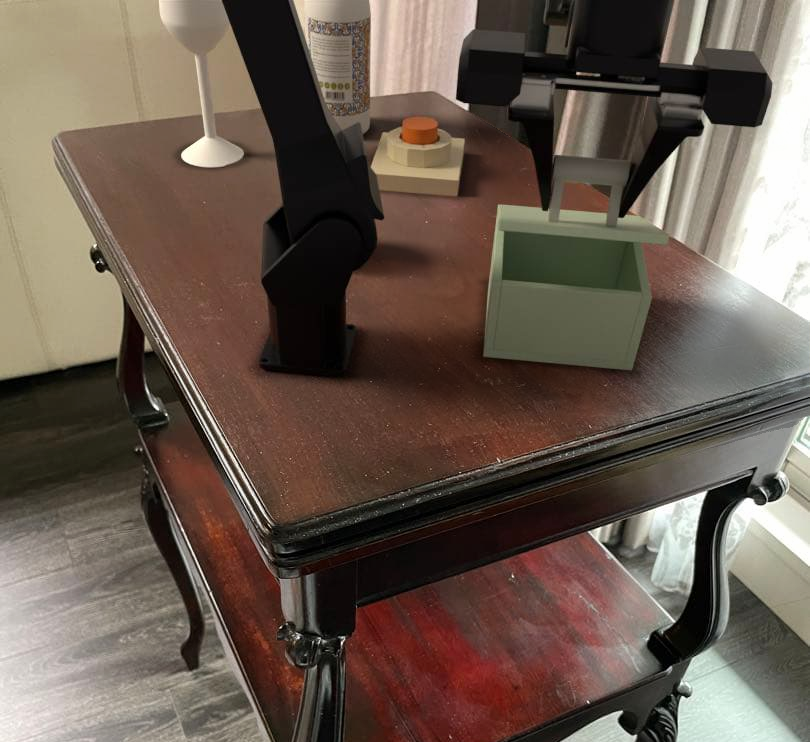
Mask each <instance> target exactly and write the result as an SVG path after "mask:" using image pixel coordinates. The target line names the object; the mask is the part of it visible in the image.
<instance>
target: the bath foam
mask: <svg viewBox="0 0 810 742" xmlns="http://www.w3.org/2000/svg"><path fill="white" fill-rule="evenodd" d="M303 20H304V21H303V22H304V36H305V39H306V42H307V45H308V49H309V52H310V55H311V58H312V61H313V65H314V68H315V71H316V74H317V77H318V81H319V84H320V87H321V90H322V93H323V96H324V100H325V102H326V104H327V106H328V108H329V110H330V112H331V114H332V115H333V117H334V118H335V120H336V122H337V123H338V125H339V127H340V128H341V130H344V129H346V128H348V127H350V126H352V125H354V124H355V123H357V122H359V123H361V128H362V134H363V135H364V134H366V133H367V132H368V130H369V129H370V125H371V52H372V51H371V49H372V48H371V44H372V43H371V40H372V39H371V38H372V35H371V31H372V29H371V28H372V27H371V26H372V21H371V20H372V13H371V3H370V0H304V5H303Z"/></svg>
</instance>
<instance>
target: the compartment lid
mask: <svg viewBox="0 0 810 742" xmlns="http://www.w3.org/2000/svg"><path fill="white" fill-rule="evenodd" d="M630 162H631V160H627V159H626V160H625V159H623V160H622V159H614V158H613V159H612V158H601V157H589V156H588V157H587V156H576V155H563V154H554V155H553V165H552V191H551V198H550V203H549V208H548V211H542V207H536V206H525V205H512V204H501V203H500V204H497V210H496V217H497V216H498V226H499V230H500V231H509V232H521V233H533V234H544V235H556V236H568V237H579V238H591V239H603V240H615V241H626V242H638V243H641V244H650V245H651V244H652V245H664V246H667V245H668V243H669V239H670V234H669V233H667V232H666V231H664V230H663V229H661V228H660V227H658V226H656V225H655V224H653V223H651V222H650V221H648V220H647V219H645V218H644V217H642V216H640V215H632V214H626V215H625V217H624V218H618V215H619V210H620V204H621V198H622V192H623V187H624V186H626V184H627V181H628V177H629V172H630ZM565 182H567V183H576V184H577V183H578V184H589V185H600V186H611V189H610V193H609V194H610V195H609V200H608V206H607V212H597V211H596V212H595V211H583V210H574V209H573V210H572V209H561V206H562V199H563V192H564V186H565Z"/></svg>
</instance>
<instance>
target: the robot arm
mask: <svg viewBox="0 0 810 742" xmlns="http://www.w3.org/2000/svg"><path fill="white" fill-rule="evenodd" d="M222 3H223V6H224V8H225V11H226V14H227V17H228V19H229V22H230V24H229V26H230V27H231V31H232V34H233V35H234V38H235V41H236V44H237V46H238V49H239V52H240V54H241V57H242V60H243V63H244V65H245V68H246V71H247V73H248V77H249V79H250V81H251V85H252V87H253V90H254V93H255V96H256V98H257V101H258V104H259V106H260V109H261V111H262V114H263V117H264V119H265V122H266V125H267V128H268V130H269V133H270V136H271V139H272V143H273V149H274V155H275V162H276V167H277V175H278V182H279V187H280V188H279V189H280V195H281V201H282V202H281V204H280V205H279V206H278V207H277V208H276V209H275V210H274V211H273V212H272V213H271V214H270V215H269V216H268V217H267V218H266V219H265V220H264V221H263V224H262V251H261V277H260V279H261V280H260V283H261V285H262V287H263V289H264V291H265V294H266V299H267V312H268V322H269V334H268V336H267V338H266V341H265V343H264V346H263V349H262V350H261V353H260V356H259V359H258V367H259V368H260V369H263V370H271V371H279V372H280V371H282V372H293V373H302V374H311V375H324V376H333V377H335V376H336V377H342V376H344V375H345V374H346V373H347V369H348V366H349V362H350V358H351V354H352V352H353V347H354V344H355V340H356V336H357V333H358V332H357V331H358V330H357V329H358V328H357V326H356V325H355V324H352V323H347V288H348V286H349V284H350V281H351V278H352V276H353V273H355V272H356V271H358V270H360V269H361V268H362V267H363V266H364V265H365V264H367V263H368V262H369V260H370V259H371V257H372V255H373V253H374V252H375V250H376V249H377V247H378V239H379V238H378V232H377V231H378V230H377V224H376V221H377V220H378V221H383V220H385V214H384V207H383V201H382V197H381V190H379V186H378V180H377V175H376V174H375V172H374V171H373V170H372V168H371V165H370V164H369V162H368V157H367V152H366V146H365V145H366V144H365V140H364V134H362V128H361V123H359V122H357V123H355V124H354V125H352V126H350V127H348V128H346V129H344V130H341V128H340V127H339V125H338V123H337V122H336V120H335V118H334V117H333V115H332V114H331V112H330V110H329V108H328V106H327V104H326V102H325V100H324V96H323V93H322V90H321V87H320V84H319V81H318V77H317V74H316V71H315V68H314V65H313V61H312V58H311V55H310V52H309V49H308V45H307V42H306V39H305V32H304V30H303V26H302V24H301V20H300V17H299V14H298V10H297V8H296V4H295V1H294V0H222ZM674 6H675V0H545V6H544V13H543V22H542V23H543V24H544V25H545V26H555V27H565V28H566V29H565V34H564V41H563V43H564V49H565V48H566V54H561V53H549V52H537V51H536V52H535V51H526V36H527V35H526V34H527V33H525V32H513V31H503V30H500V31H499V30H487V29H477V28H475V29H474V28H473V29H472V30H471V31H469V33H468V34H467V35H466V36H465V37H464V38H463V40H462V45H461V49H460V53H459V59H458V67H457V78H456V90H455V91H456V92H455V101H458V102H461V103H462V104H466V105H467V104H469V105H481V106H493V107H504V108H506V107H507V108H506V119H507V120H508V121H510V122H513V123H520V124H522V127H523V130H524V133H525V136H526V140H527V143H528V145H529V149H530V152H531V156H532V158H533V163H534V168H535V174H536V181H537V189H538V194H539V199H540V206H541V208H542V211H548V208H549V207H550V199H551V192H552V185H553V181H552V165H553V159H554V140H555V139H554V137H555V136H554V134H555V91H556V90H562V91H563V90H565V91H577V92H589V93H601V94H613V95H625V96H637V97H647V101H646V106H645V110H644V115H643V119H642V124H641V128H640V132H639V134H638V138H637V140H636V144H635V147H634V150H633V153H632V156H631V158H630V172H629V177H628V181H627V184H626V186H624V187H623V192H622V198H621V204H620V210H619V215H618V218H624V217H625V215H628V213H629V211H630V210H631V208H632V207H633V205H634V204H635V202H636V201H637V200H638V198H639V197H640V195H641V194H642V193H643V192H644V190H645V188H646V187H647V186H648V183H649V182H650V181H651V179H652V178H653V177H654V175H655V174H656V172H657V171H658V170H659V169H660V168H661V167H662V166H663V164H664V163H665V162H666V161H667V160H668V159H669V158H670V156H671V155H672V154H673V153H674V152H675V151H676V150H677V149H678V147H679V146H680V145H681V144H682V143H684V141H685V139H686V138H690V137H691V138H698V137H701V136H702V135H703V134H704V129H705V124H704V122H703V119H702V113H704V115H705V116H706V118H707V119H708V121H709V122H710V124H711V125H719V126H730V127H731V126H732V127H745V128H757V127H760V126H762V125H763V123H764V119H765V116H766V115H767V114H766V113H767V111H768V107H769V105H770V101H771V98H772V91H773V84H774V83H773V81H772V79H771V78H770V76H769V74H768V72H767V70H766V69H765V67H764V65H763V64H762V63H761V61H760V59H759V58H758V56H757V55H756V53H755V51H753V50H752V51H751V50H739V49H729V48H728V49H727V48H716V47H714V48H713V47H703V46H699V48H698V51H697V52H696V53H695V56H694V58H693V61H692V64H686V63H675V62H673V63H672V62H661V61H662V57H663V52H664V49H665V45H666V40H667V35H668V31H669V27H670V22H671V18H672V14H673V11H674ZM577 73H581V74H577ZM582 73H583V74H582ZM588 74H592V75H588ZM594 74H595V75H594ZM623 77H624V78H623ZM627 77H629V78H627ZM635 78H637V79H635ZM638 78H641V79H638Z"/></svg>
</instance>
